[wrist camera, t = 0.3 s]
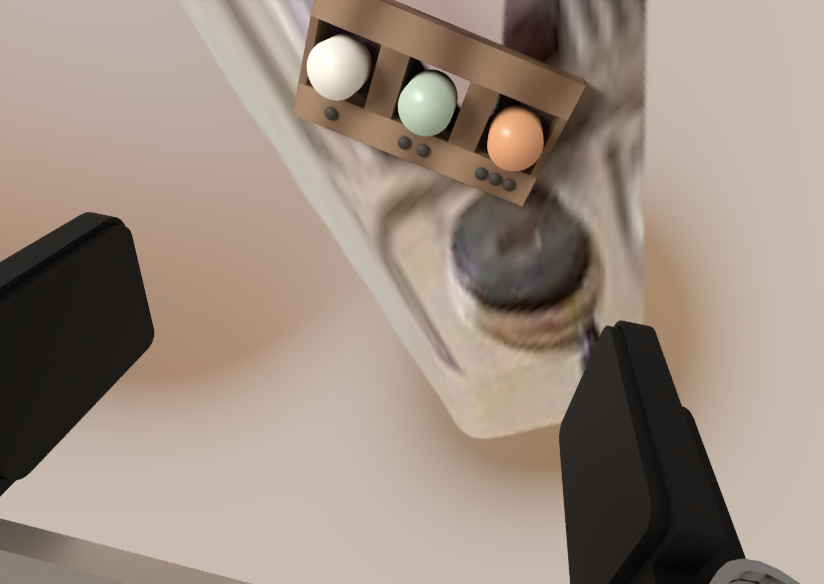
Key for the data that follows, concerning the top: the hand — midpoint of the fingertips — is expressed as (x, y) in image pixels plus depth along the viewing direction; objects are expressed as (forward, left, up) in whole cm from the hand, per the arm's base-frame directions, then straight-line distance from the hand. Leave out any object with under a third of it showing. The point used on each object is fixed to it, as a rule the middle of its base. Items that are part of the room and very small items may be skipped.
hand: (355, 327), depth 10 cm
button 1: (-9, -4, -32) cm, 34 cm away
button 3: (+5, -4, -32) cm, 33 cm away
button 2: (-2, -4, -32) cm, 33 cm away
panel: (-2, -4, -34) cm, 34 cm away
